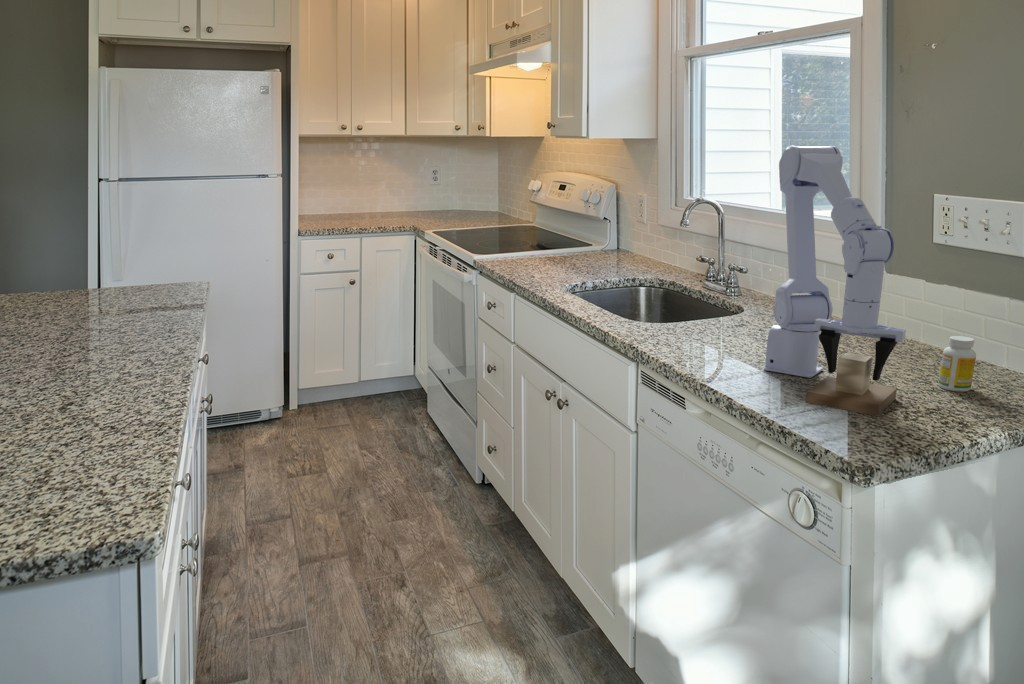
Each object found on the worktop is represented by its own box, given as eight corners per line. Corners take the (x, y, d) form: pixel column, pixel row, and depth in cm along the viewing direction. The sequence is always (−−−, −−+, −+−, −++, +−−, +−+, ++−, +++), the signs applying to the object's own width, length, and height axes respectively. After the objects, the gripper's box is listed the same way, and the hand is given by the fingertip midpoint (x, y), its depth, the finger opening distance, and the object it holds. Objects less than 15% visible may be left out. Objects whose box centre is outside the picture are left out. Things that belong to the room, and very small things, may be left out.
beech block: (834, 390, 138) (838, 357, 136) (842, 384, 141) (845, 352, 140) (861, 395, 135) (865, 361, 133) (868, 389, 138) (872, 356, 137)
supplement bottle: (934, 388, 146) (941, 338, 143) (942, 382, 149) (949, 333, 147) (966, 394, 142) (974, 343, 140) (974, 387, 146) (981, 338, 144)
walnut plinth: (805, 402, 137) (806, 391, 137) (826, 386, 147) (827, 376, 146) (877, 416, 130) (879, 404, 130) (895, 398, 139) (897, 388, 139)
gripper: (811, 298, 135) (804, 373, 139) (902, 308, 127) (892, 388, 130) (824, 292, 141) (817, 364, 144) (912, 302, 132) (902, 378, 135)
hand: (853, 375), depth 137 cm, fingers open, 7 cm apart
